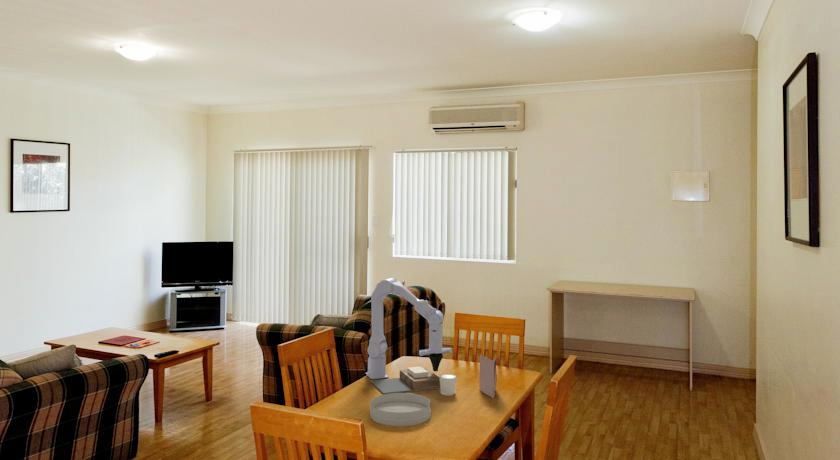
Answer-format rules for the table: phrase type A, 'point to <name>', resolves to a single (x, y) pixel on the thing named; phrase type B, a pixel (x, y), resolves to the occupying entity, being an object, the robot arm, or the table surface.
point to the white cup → (447, 384)
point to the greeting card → (488, 376)
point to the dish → (400, 409)
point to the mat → (391, 386)
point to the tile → (417, 372)
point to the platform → (420, 380)
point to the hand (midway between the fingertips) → (435, 370)
